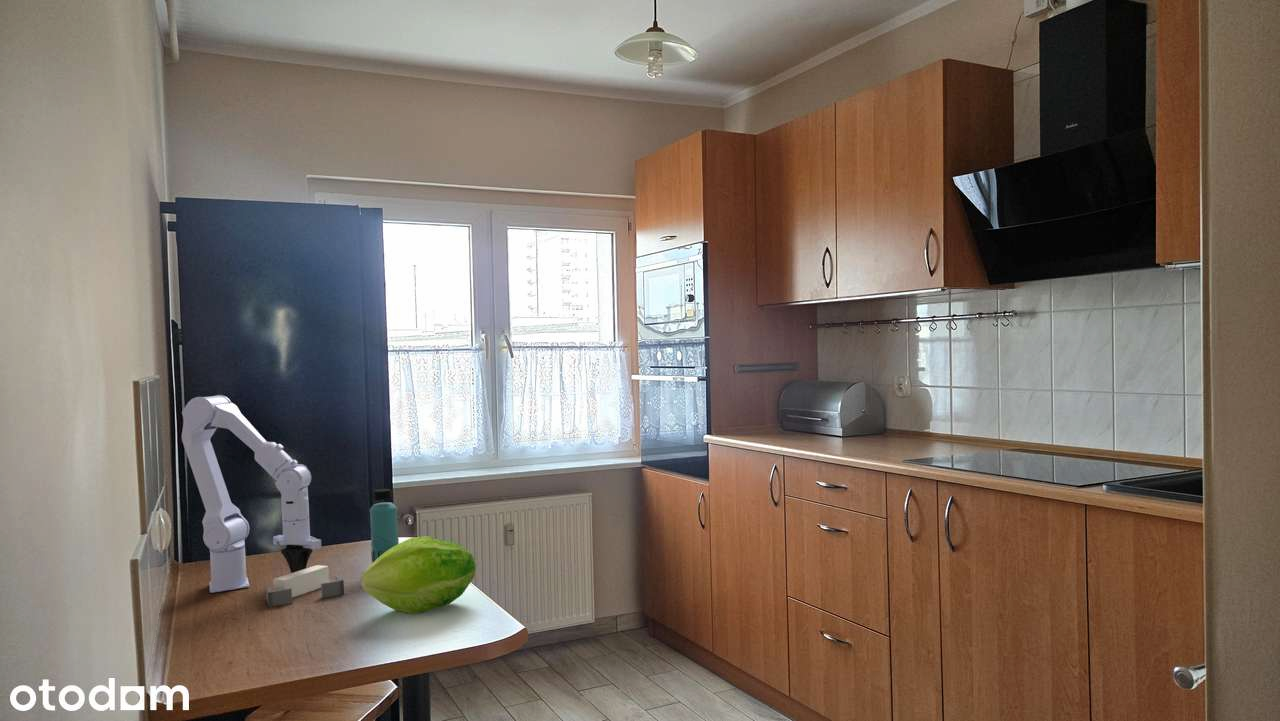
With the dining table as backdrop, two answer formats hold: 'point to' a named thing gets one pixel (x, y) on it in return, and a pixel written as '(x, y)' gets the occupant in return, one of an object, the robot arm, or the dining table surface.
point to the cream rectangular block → (303, 580)
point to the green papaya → (420, 574)
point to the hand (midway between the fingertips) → (298, 578)
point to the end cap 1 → (278, 596)
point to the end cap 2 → (333, 587)
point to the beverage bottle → (383, 524)
